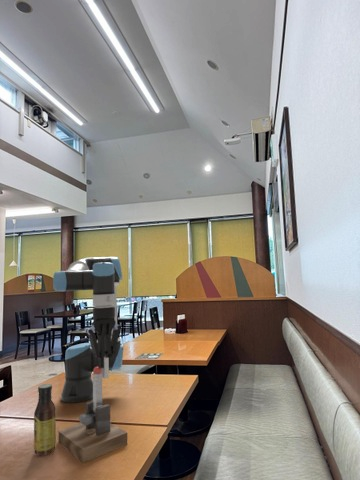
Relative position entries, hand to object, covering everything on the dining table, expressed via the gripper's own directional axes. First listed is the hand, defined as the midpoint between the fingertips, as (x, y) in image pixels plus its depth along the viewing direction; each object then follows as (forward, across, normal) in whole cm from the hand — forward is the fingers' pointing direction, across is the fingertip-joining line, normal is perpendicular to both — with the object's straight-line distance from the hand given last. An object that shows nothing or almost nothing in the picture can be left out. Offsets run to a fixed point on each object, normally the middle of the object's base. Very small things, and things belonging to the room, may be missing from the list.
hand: (104, 377), depth 112 cm
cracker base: (+20, -5, 0) cm, 20 cm away
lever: (+13, -5, 0) cm, 13 cm away
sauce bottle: (+20, -18, +6) cm, 27 cm away
